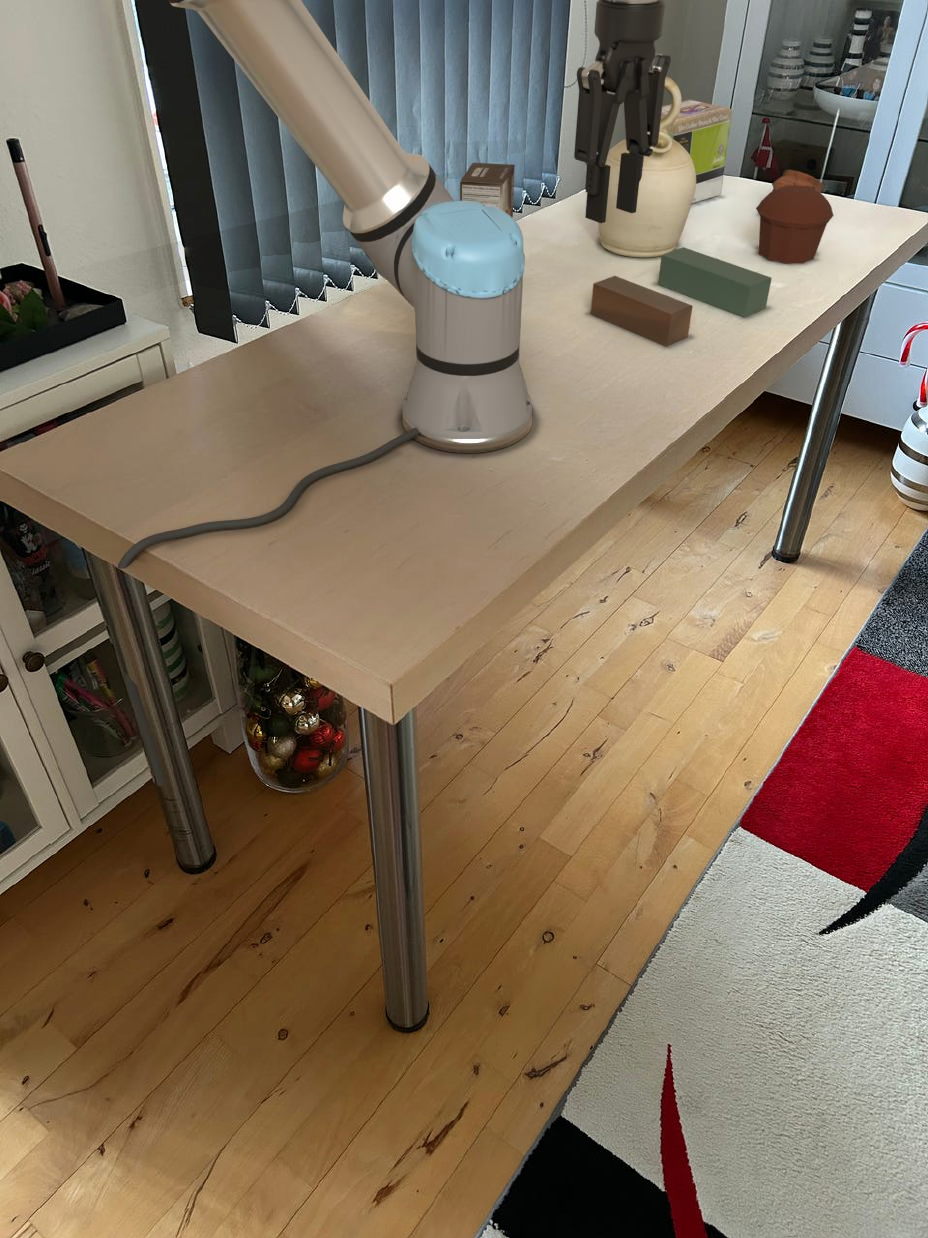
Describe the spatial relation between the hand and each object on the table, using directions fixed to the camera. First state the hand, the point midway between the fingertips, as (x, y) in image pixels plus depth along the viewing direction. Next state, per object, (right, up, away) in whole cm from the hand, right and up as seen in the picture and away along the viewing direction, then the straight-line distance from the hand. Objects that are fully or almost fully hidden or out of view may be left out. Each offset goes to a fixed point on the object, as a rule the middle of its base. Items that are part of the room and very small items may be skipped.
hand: (610, 214), depth 125 cm
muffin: (+33, +8, +36) cm, 50 cm away
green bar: (+18, -3, +23) cm, 29 cm away
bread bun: (+39, +20, +50) cm, 67 cm away
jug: (+10, +11, +39) cm, 42 cm away
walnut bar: (+6, -9, +15) cm, 19 cm away
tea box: (+20, +26, +58) cm, 66 cm away
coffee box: (-15, 0, +26) cm, 30 cm away
